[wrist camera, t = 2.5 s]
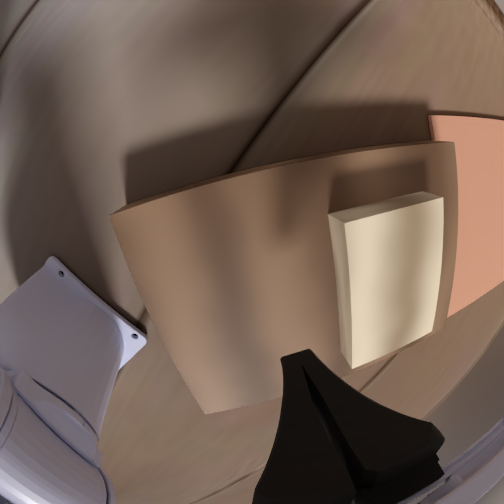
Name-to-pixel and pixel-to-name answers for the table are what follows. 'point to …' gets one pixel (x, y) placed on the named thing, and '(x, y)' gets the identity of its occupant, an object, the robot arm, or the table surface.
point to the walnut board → (268, 262)
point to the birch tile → (387, 273)
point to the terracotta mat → (476, 203)
